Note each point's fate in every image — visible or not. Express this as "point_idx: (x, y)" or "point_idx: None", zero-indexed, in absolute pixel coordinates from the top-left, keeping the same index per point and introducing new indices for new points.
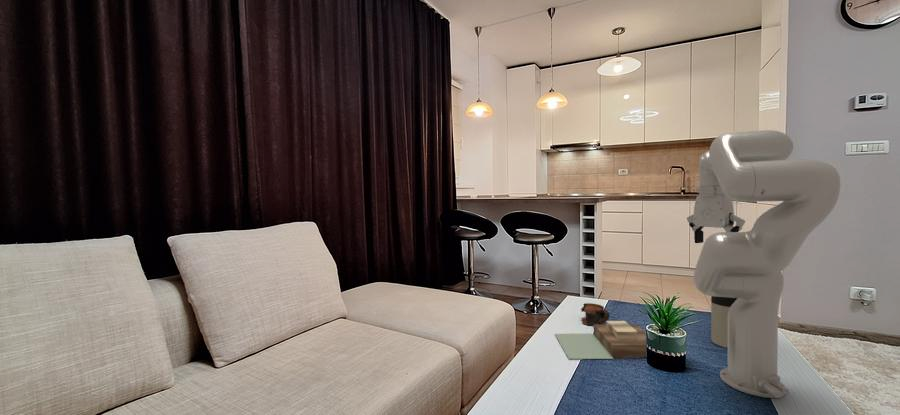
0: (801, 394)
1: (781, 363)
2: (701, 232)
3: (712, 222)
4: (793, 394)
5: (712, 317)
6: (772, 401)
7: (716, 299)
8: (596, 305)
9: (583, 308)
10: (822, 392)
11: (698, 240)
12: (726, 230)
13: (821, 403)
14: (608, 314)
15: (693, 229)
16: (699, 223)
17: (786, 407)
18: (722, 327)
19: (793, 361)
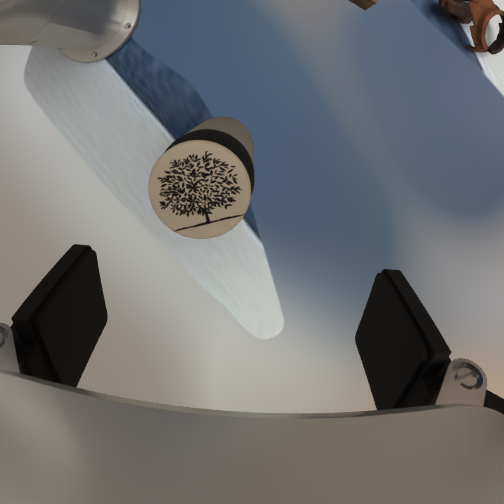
0: (50, 65)
1: (117, 151)
2: (389, 396)
3: (75, 481)
4: (55, 53)
5: (237, 130)
6: None
7: (213, 132)
8: (485, 13)
9: (496, 6)
10: (43, 103)
11: (380, 302)
12: (4, 362)
13: (31, 68)
14: (446, 6)
15: (471, 375)
16: (429, 447)
17: None
18: (206, 122)
19: (115, 182)
